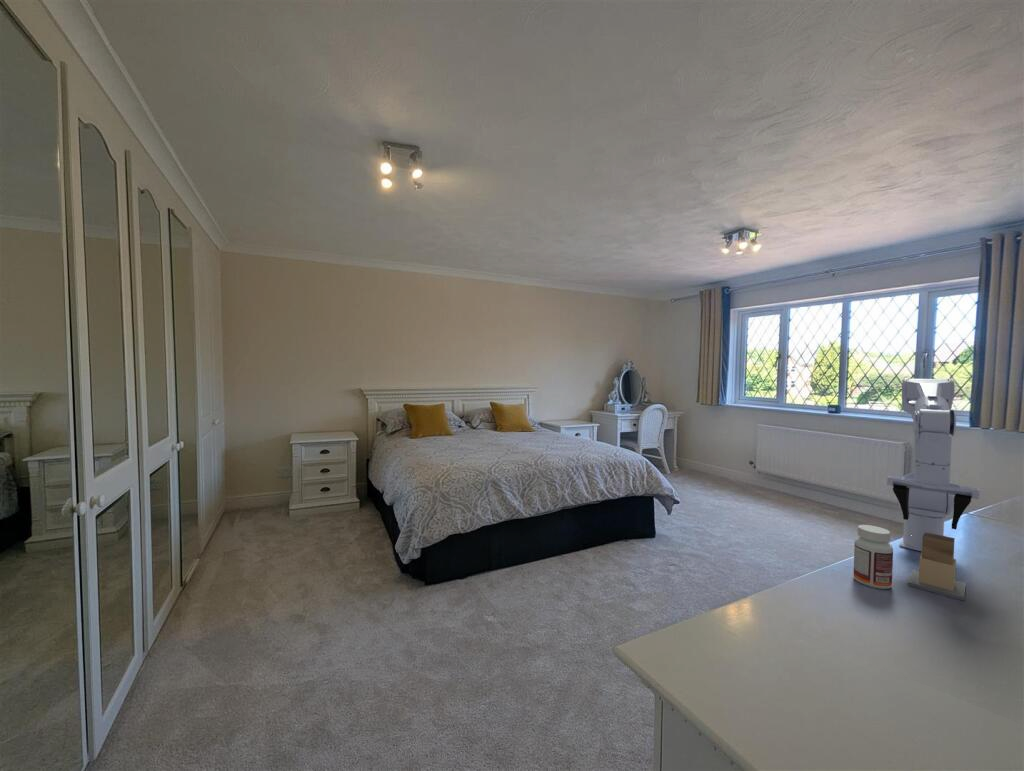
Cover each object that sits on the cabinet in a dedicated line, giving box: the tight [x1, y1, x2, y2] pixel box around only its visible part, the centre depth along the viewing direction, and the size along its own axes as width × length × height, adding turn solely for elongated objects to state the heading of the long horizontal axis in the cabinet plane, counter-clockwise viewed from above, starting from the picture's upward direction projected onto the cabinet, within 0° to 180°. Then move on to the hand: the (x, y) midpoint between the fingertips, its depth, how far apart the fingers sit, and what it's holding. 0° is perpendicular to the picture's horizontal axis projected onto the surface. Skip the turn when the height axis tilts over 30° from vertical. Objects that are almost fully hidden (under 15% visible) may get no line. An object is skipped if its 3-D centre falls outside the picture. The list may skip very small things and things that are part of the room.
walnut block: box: [921, 532, 955, 565], centre depth 87 cm, size 4×4×4 cm
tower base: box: [906, 552, 967, 601], centre depth 88 cm, size 9×8×6 cm
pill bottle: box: [853, 524, 894, 590], centre depth 88 cm, size 6×6×11 cm
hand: (929, 523), depth 95 cm, fingers open, 7 cm apart
